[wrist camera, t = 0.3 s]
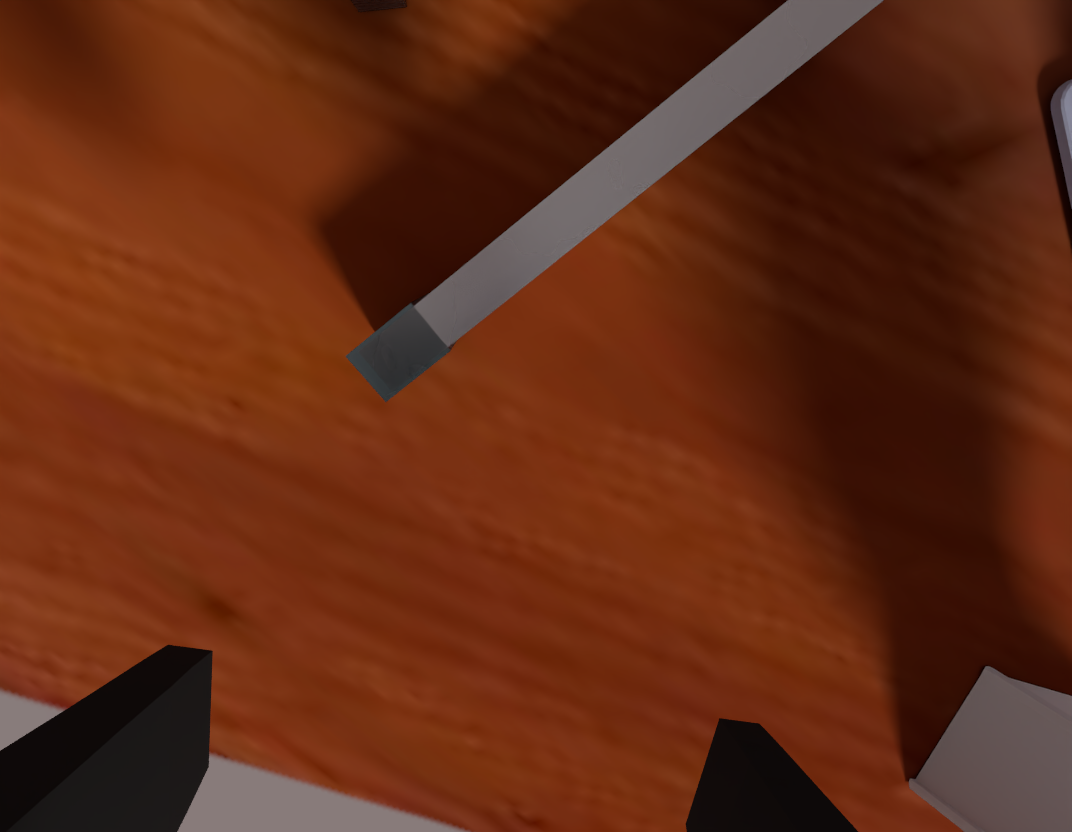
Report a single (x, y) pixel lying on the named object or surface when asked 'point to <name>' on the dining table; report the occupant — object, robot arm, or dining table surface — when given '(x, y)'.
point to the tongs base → (378, 4)
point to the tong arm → (602, 189)
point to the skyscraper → (1004, 760)
